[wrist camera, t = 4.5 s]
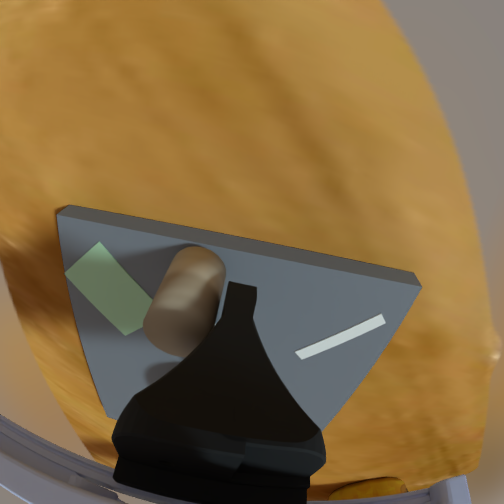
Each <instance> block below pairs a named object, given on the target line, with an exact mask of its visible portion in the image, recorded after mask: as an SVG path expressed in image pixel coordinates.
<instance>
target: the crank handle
mask: <svg viewBox="0 0 504 504" xmlns="http://www.w3.org/2000/svg"><path fill="white" fill-rule="evenodd" d="M225 279H226V268H225V265H224V263H223V261H222V260H221V258H220V257H219V256H218V255H217V254H215V253H214V252H213V251H211V250H209V249H206V248H203V247H187V248H184V249H182V250H181V251H179V252H178V253H177V254H176V255H175V257H174V258H173V260H172V262H171V264H170V266H169V268H168V270H167V272H166V274H165V276H164V278H163V280H162V282H161V284H160V286H159V288H158V291H157V293H156V295H155V297H154V299H153V301H152V303H151V305H150V307H149V309H148V311H147V313H146V316H145V318H144V320H143V330H144V333H145V335H146V337H147V338H148V340H149V341H150V342H151V343H152V344H153V345H154V346H156V347H157V348H158V349H160V350H162V351H164V352H166V353H168V354H171V355H174V356H178V357H187V356H188V355H189V354H190V353H191V352H192V351H193V350H194V349H195V348H196V347H197V346H198V345H199V344H200V343H201V342H202V341H203V340H204V339H205V337H206V336H207V335H208V334H209V333H210V331H211V330H212V329H213V328H214V326H215V325H216V318H217V314H218V309H219V305H220V300H221V296H222V292H223V287H224V283H225Z"/></svg>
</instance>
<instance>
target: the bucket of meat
mask: <svg viewBox="0 0 504 504" xmlns="http://www.w3.org/2000/svg"><path fill="white" fill-rule="evenodd" d="M406 492H408V490H407V488H406V486H405V483H404V482H403V481H402V480H400V479H398V478H392V477H384V478H377V479H370V480H365V481H361V482H357V483H353V484H349V485H346V486H344V487H342V488H339V489H337V490H335V491H334V492H333V493H332V494H331V495H330V496H329V499H328V501H334V500H350V499H362V498H372V497H380V496H387V495H394V494H400V493H406Z"/></svg>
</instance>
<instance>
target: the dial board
mask: <svg viewBox="0 0 504 504" xmlns="http://www.w3.org/2000/svg"><path fill="white" fill-rule="evenodd" d="M57 223H58V231H59V239H60V246H61V252H62V259H63V265H64V270H65V273H64V274H65V276H66V281H67V286H68V290H69V295H70V300H71V304H72V308H73V312H74V317H75V320H76V324H77V328H78V332H79V336H80V339H81V343H82V346H83V349H84V353H85V356H86V359H87V362H88V365H89V369H90V372H91V375H92V377H93V380H94V383H95V386H96V389H97V392H98V394H99V397H100V400H101V402H102V405H103V407H104V410H105V412H106V415H107V417H109V418H112V419H115V420H118V418H119V416H120V415H121V413H122V411H123V409H124V408H125V407H126V405H127V404H128V402H129V401H130V400H131V398H132V397H133V396H134V395H135V394H136V393H138V392H140V391H141V390H143V389H144V388H146V387H148V386H149V385H151V384H152V383H154V382H156V381H157V380H158V379H160V378H161V377H162V376H164V375H165V374H166V373H168V372H169V371H170V370H172V369H173V368H174V367H175V366H177V365H178V364H179V363H180V362H181V361H182V360H184V359H185V358H186V357H178V356H174V355H171V354H168V353H166V352H164V351H162V350H160V349H158V348H157V347H156V346H154V345H153V344H152V343H151V342H150V341H149V340H148V338H147V337H146V335H145V333H144V330H143V320H144V318H145V316H146V313H147V311H148V309H149V307H150V305H151V303H152V301H153V299H154V297H155V295H156V293H157V291H158V288H159V286H160V284H161V282H162V280H163V278H164V276H165V274H166V272H167V270H168V268H169V266H170V264H171V262H172V260H173V258H174V257H175V255H176V254H177V253H178V252H179V251H181V250H182V249H184V248H187V247H203V248H206V249H209V250H211V251H213V252H214V253H215V254H217V255H218V256H219V257H220V258H221V260H222V261H223V263H224V265H225V268H226V279H225V283H224V287H223V292H222V296H221V300H220V305H219V309H218V314H217V318H216V324H217V322H218V321H219V320H220V318H221V315H222V310H223V305H224V300H225V296H226V291H227V286H228V282H229V281H232V282H236V283H241V284H246V285H251V286H255V287H257V301H256V306H255V311H254V315H253V319H254V322H255V326H256V329H257V331H258V334H259V337H260V339H261V342H262V344H263V346H264V349H265V351H266V353H267V355H268V357H269V359H270V361H271V363H272V365H273V367H274V368H275V370H276V372H277V374H278V375H279V377H280V379H281V380H282V382H283V383H284V385H285V386H286V388H287V389H288V390H289V392H290V393H291V395H292V396H293V398H294V399H295V400H296V402H297V403H298V404H299V405H300V407H301V408H302V409H303V410H304V412H305V413H306V414H307V415H308V416H309V417H310V418H311V419H312V421H313V422H314V423H315V424H316V425H317V426H318V427H319V428H320V429H321V432H322V431H323V429H324V428H325V427H326V426H327V425H328V424H329V422H330V421H331V420H332V419H333V418H334V416H335V415H336V414H337V413H338V411H339V410H340V409H341V408H342V406H343V405H344V404H345V403H346V401H347V400H348V399H349V398H350V396H351V395H352V394H353V392H354V391H355V390H356V388H357V387H358V386H359V384H360V383H361V382H362V380H363V379H364V378H365V376H366V375H367V373H368V372H369V371H370V369H371V368H372V366H373V365H374V364H375V362H376V361H377V359H378V358H379V356H380V355H381V353H382V352H383V350H384V349H385V347H386V346H387V344H388V343H389V341H390V340H391V338H392V337H393V335H394V334H395V332H396V330H397V329H398V327H399V326H400V324H401V322H402V321H403V319H404V317H405V316H406V314H407V312H408V311H409V309H410V307H411V306H412V304H413V302H414V300H415V299H416V297H417V295H418V293H419V292H420V290H421V288H422V286H421V284H420V282H419V281H418V279H417V277H416V275H415V274H414V273H412V272H407V271H403V270H398V269H393V268H389V267H384V266H379V265H374V264H370V263H365V262H360V261H355V260H351V259H346V258H341V257H336V256H331V255H327V254H322V253H317V252H312V251H307V250H302V249H297V248H292V247H287V246H283V245H278V244H273V243H268V242H263V241H258V240H253V239H248V238H243V237H238V236H232V235H227V234H222V233H217V232H212V231H207V230H202V229H197V228H191V227H186V226H181V225H176V224H171V223H165V222H160V221H155V220H149V219H144V218H139V217H134V216H128V215H123V214H117V213H112V212H107V211H101V210H96V209H90V208H85V207H79V206H74V205H68V206H67V207H66V208H64V209H63V210H62V211H61V212H59V213H58V214H57Z"/></svg>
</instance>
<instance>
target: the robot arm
mask: <svg viewBox="0 0 504 504" xmlns="http://www.w3.org/2000/svg"><path fill="white" fill-rule="evenodd" d="M256 301H257V287H255V286H251V285H246V284H241V283H236V282H232V281H229V282H228V286H227V291H226V296H225V300H224V305H223V310H222V315H221V318H220V320H219V321H218V322H217V324H216V325H215V326H214V328H213V329H212V330H211V331H210V333H209V334H208V335H207V336H206V337H205V339H204V340H203V341H202V342H201V343H200V344H199V345H198V346H197V347H196V348H195V349H194V350H193V351H192V352H191V353H190V354H189V355H188V356H187V357H186V358H185V359H184V360H182V361H181V362H180V363H179V364H178V365H177V366H175V367H174V368H173V369H172V370H170V371H169V372H168V373H166V374H165V375H164V376H162V377H161V378H160V379H158V380H157V381H156V382H154V383H152V384H151V385H149V386H148V387H146V388H144V389H143V390H141V391H140V392H138V393H136V394H135V395H134V396H133V397H132V398H131V400H130V401H129V402H128V404H127V405H126V407H125V408H124V409H123V411H122V413H121V415H120V416H119V418H118V420H117V423H116V425H115V428H114V431H113V434H112V442H113V444H114V446H115V448H116V450H117V452H118V454H119V457H118V460H117V464H116V467H115V469H114V468H111V467H108V466H105V465H103V464H100V463H97V462H95V461H92V460H89V459H87V458H85V457H82V456H80V455H77V454H75V453H73V452H70V451H68V450H66V449H64V448H62V447H59V446H57V445H55V444H53V443H51V442H49V441H47V440H45V439H43V438H41V437H39V436H37V435H35V434H33V433H31V432H29V431H28V430H26V429H24V428H22V427H21V426H19V425H17V424H15V423H14V422H12V421H10V420H9V419H7V418H5V417H4V416H2V415H1V414H0V486H2V487H3V488H5V489H7V490H8V491H10V492H11V493H13V494H14V495H16V496H17V497H19V498H20V499H22V500H24V501H25V502H27V503H29V504H127V503H125V502H123V501H121V500H120V499H119V498H118V495H117V494H116V493H115V492H112V491H109V490H108V489H111V490H114V491H117V492H119V493H122V494H126V495H129V496H132V497H136V498H139V499H142V500H146V501H149V502H153V503H157V504H471V500H470V494H469V489H468V485H467V480H466V476H465V475H464V474H463V475H459V476H456V477H452V478H448V479H445V480H442V481H440V482H438V483H436V484H434V485H432V486H431V487H430V488H426V489H422V490H417V491H412V492H406V493H400V494H394V495H387V496H380V497H372V498H362V499H350V500H334V501H307V489H308V488H309V487H310V476H311V475H312V474H314V473H315V472H316V471H318V470H319V469H320V468H321V467H322V466H323V465H324V464H325V463H326V450H325V445H324V440H323V436H322V432H321V429H320V428H319V427H318V426H317V425H316V424H315V423H314V422H313V421H312V419H311V418H310V417H309V416H308V415H307V414H306V413H305V412H304V410H303V409H302V408H301V407H300V405H299V404H298V403H297V402H296V400H295V399H294V398H293V396H292V395H291V393H290V392H289V390H288V389H287V388H286V386H285V385H284V383H283V382H282V380H281V379H280V377H279V375H278V374H277V372H276V370H275V368H274V367H273V365H272V363H271V361H270V359H269V357H268V355H267V353H266V351H265V349H264V346H263V344H262V342H261V339H260V337H259V334H258V331H257V329H256V326H255V322H254V319H253V315H254V311H255V306H256ZM99 485H100V486H99ZM101 486H102V487H101ZM103 487H105V488H103ZM106 488H108V489H106Z"/></svg>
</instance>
